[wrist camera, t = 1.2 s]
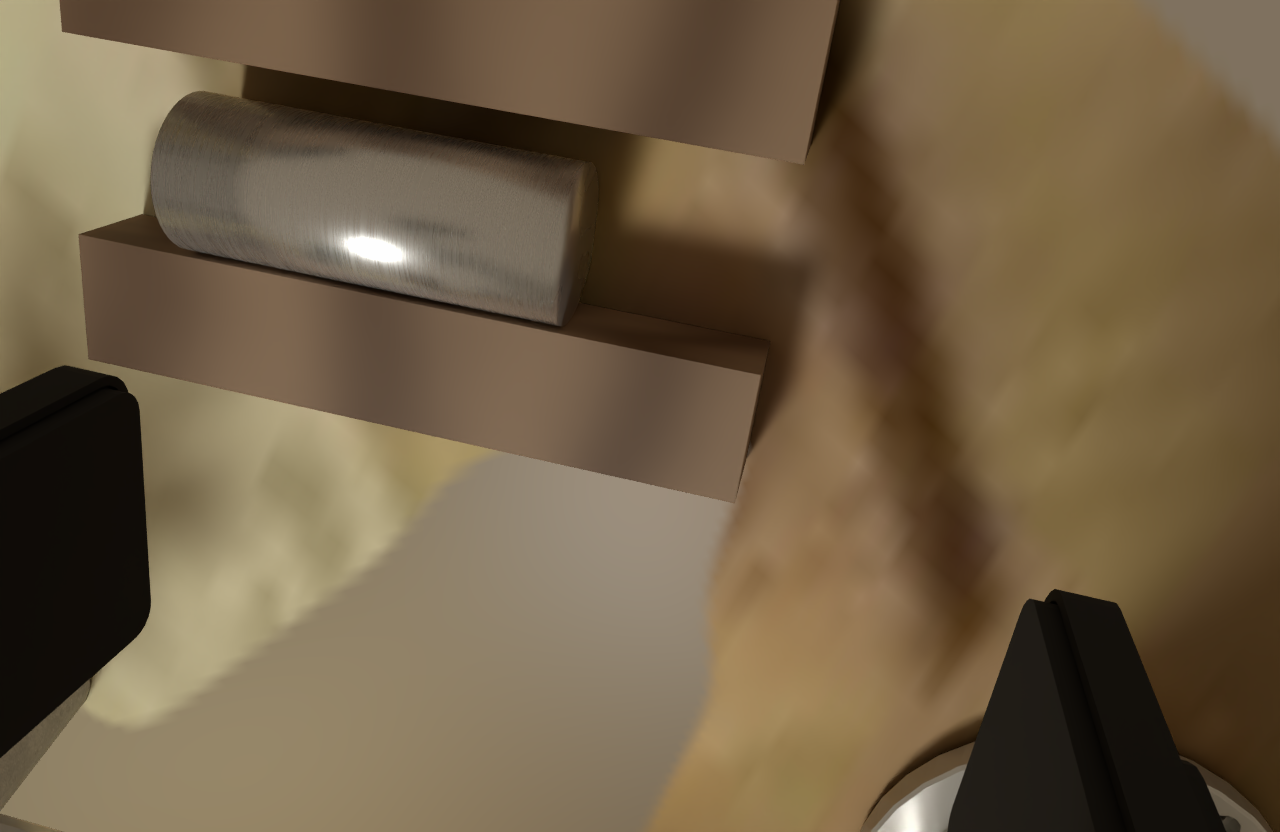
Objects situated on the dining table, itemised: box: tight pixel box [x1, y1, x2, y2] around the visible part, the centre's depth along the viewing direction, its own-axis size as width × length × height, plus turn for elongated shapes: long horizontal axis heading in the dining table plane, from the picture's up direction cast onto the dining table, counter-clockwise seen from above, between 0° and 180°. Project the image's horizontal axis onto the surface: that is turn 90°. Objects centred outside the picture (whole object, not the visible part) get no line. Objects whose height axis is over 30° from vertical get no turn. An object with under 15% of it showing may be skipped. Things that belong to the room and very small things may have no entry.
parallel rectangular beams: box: [60, 0, 840, 503], centre depth 26 cm, size 18×12×3 cm, turn 82°
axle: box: [151, 91, 599, 326], centre depth 26 cm, size 10×4×4 cm, turn 82°
